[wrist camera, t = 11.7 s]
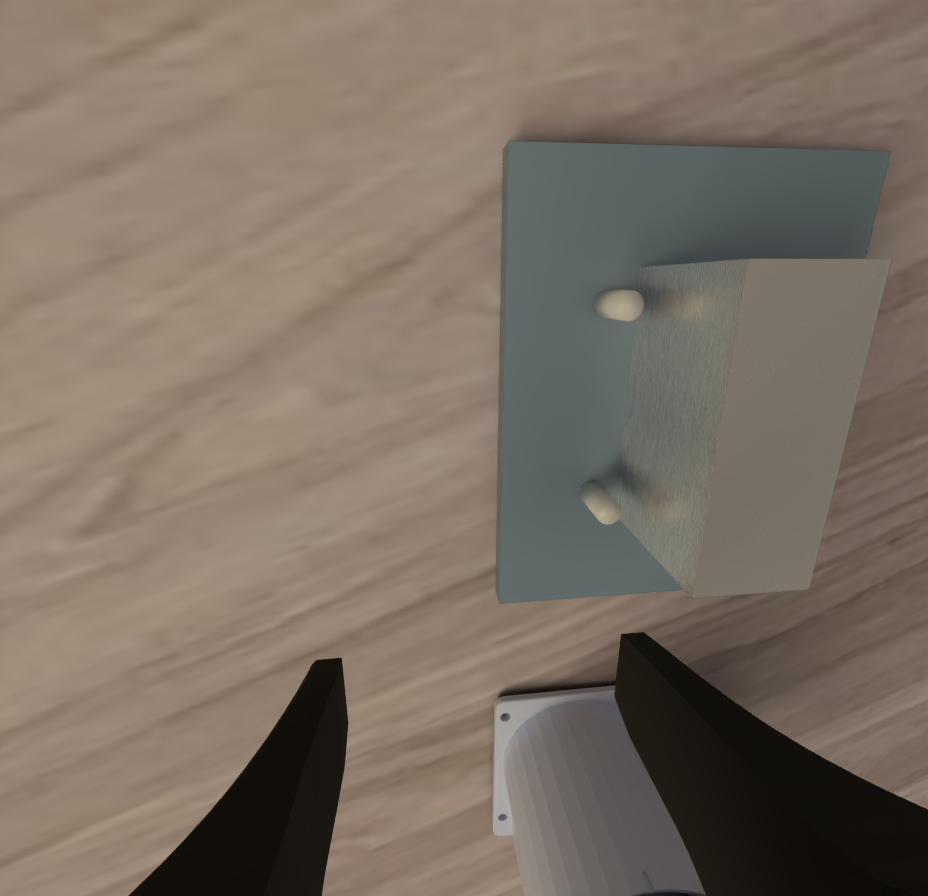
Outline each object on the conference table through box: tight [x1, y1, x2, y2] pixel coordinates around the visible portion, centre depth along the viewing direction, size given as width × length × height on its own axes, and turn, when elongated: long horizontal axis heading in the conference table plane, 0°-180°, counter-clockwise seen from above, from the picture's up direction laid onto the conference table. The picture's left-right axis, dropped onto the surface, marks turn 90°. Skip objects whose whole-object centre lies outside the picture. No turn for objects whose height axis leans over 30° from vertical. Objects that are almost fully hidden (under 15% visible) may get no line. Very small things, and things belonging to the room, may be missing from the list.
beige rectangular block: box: [617, 259, 892, 598], centre depth 17 cm, size 10×4×6 cm, turn 0°
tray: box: [496, 141, 890, 604], centre depth 19 cm, size 18×14×3 cm
